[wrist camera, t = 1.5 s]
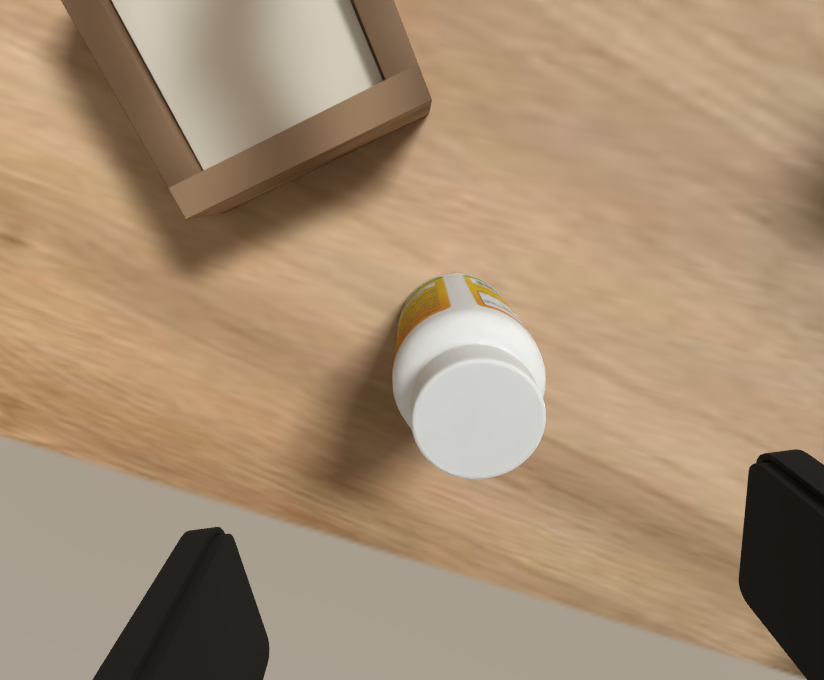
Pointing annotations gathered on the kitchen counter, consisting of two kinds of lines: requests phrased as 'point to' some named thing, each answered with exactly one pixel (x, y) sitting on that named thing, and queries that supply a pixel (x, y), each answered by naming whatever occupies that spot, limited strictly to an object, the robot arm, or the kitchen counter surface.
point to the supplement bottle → (468, 378)
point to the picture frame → (252, 86)
